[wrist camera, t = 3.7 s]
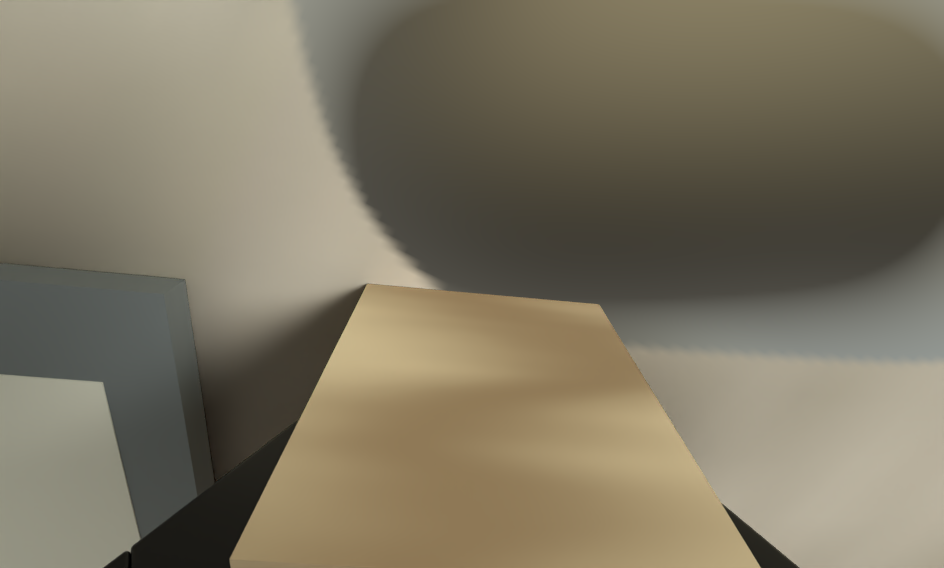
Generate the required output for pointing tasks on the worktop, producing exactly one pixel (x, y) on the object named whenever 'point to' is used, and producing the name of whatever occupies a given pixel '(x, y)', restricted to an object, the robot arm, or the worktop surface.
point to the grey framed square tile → (94, 413)
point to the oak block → (485, 449)
